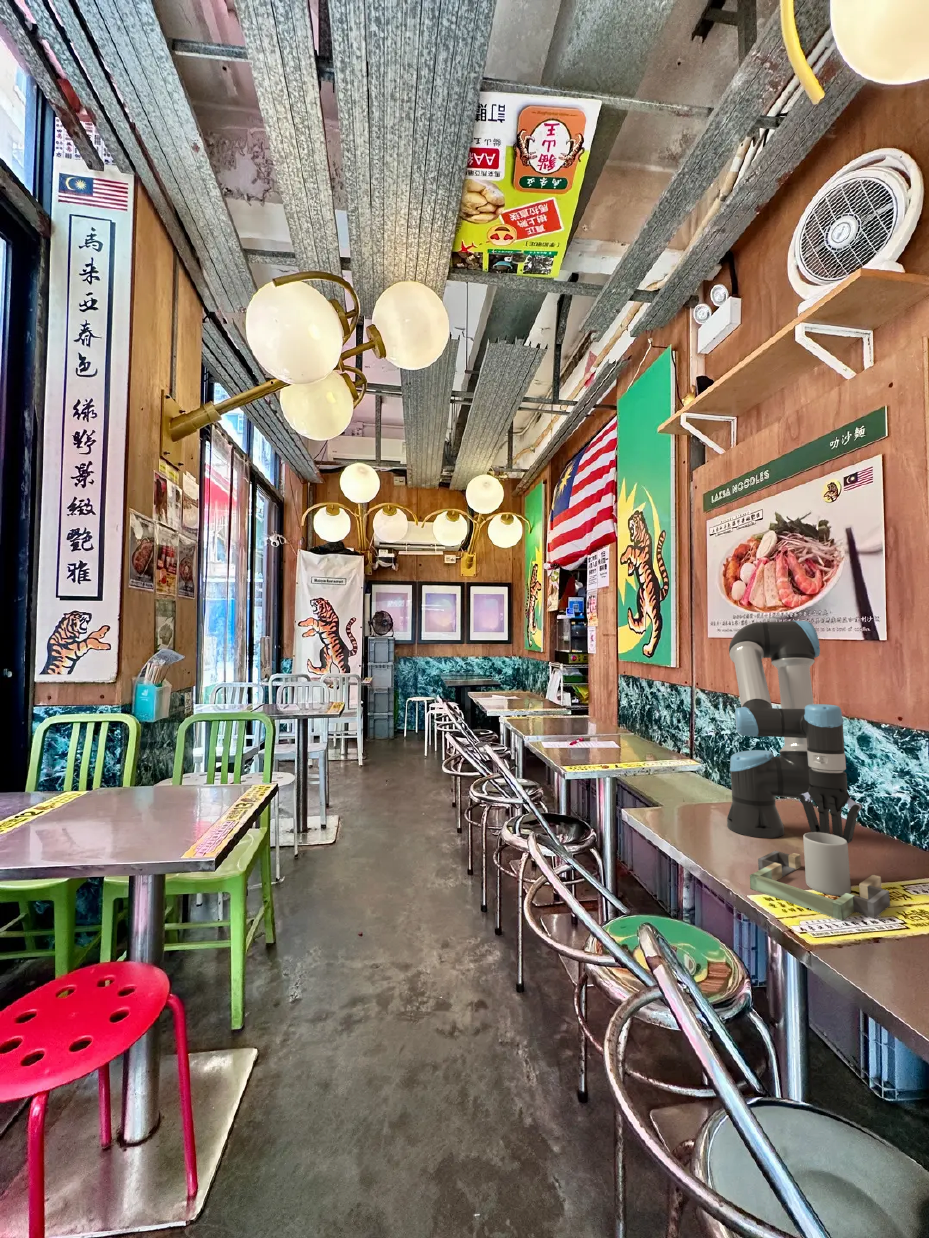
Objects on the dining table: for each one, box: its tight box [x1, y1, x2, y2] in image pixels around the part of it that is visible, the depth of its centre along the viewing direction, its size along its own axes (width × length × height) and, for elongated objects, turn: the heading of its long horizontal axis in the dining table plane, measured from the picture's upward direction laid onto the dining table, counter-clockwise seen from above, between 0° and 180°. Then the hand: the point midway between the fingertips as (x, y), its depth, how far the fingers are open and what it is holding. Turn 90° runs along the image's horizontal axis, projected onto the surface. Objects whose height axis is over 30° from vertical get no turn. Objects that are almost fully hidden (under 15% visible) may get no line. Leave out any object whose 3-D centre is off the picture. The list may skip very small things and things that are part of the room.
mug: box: [802, 831, 852, 897], centre depth 121 cm, size 12×8×11 cm
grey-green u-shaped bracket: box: [749, 850, 891, 921], centre depth 118 cm, size 22×25×3 cm
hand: (833, 870), depth 124 cm, fingers closed
